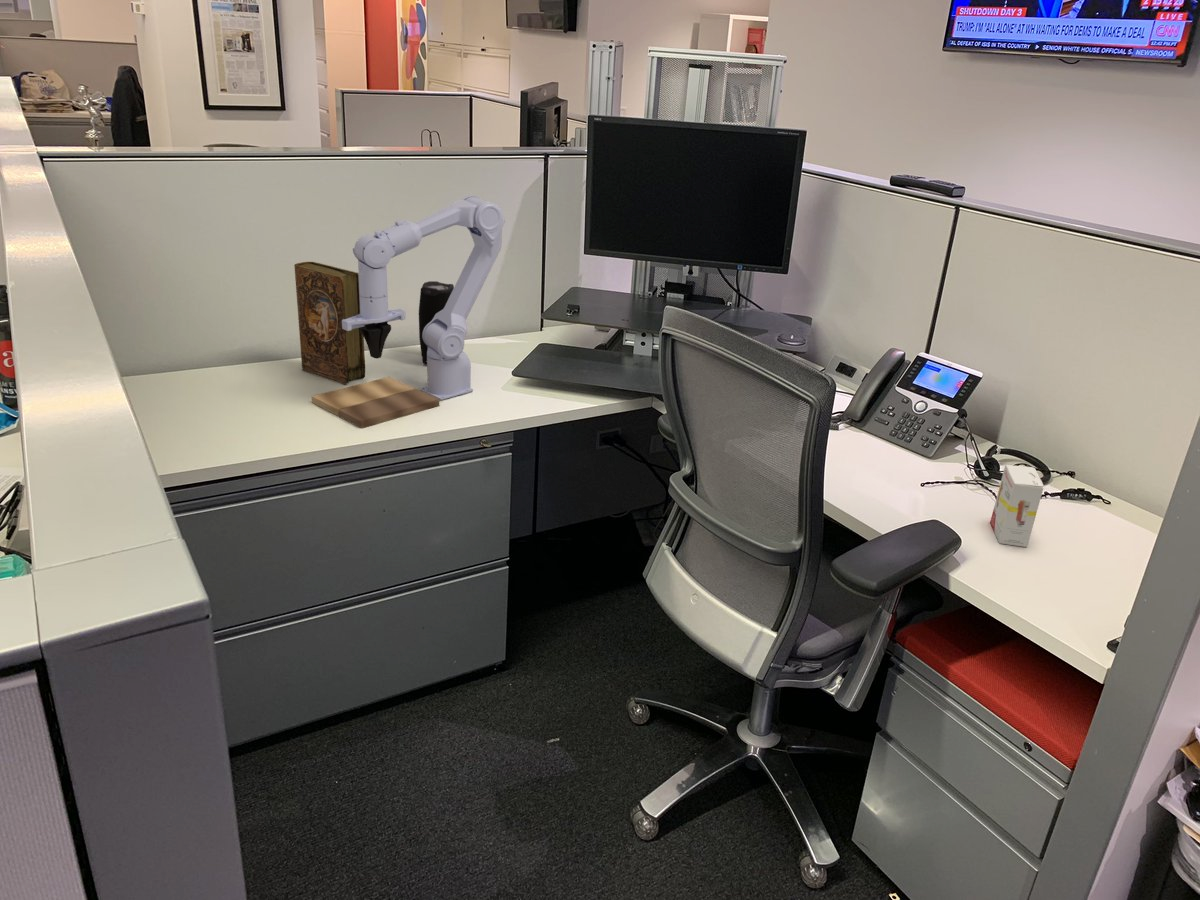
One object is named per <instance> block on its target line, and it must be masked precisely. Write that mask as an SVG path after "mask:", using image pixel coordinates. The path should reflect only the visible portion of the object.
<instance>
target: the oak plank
mask: <svg viewBox="0 0 1200 900" xmlns="http://www.w3.org/2000/svg"><path fill="white" fill-rule="evenodd" d="M415 389H417V388H416V387H413V386H411V385H409V384H406V383H404V382H401V381H400V380H397V379H395V378H393V377H391V376H386V377H382V378H379V379H378V378H377V379H375V380H370V381H366V382H363V383H359V384H355V385H350V386H347V387H342V388H339V389H334V390H330V391H328V392H327V391H326V392H322V393H319V394H315V395H314V394H313V395H311V402H312V403H313V404H314V405H317V406H318V407H320V408H322V409H324V410H326V411H328V412H330V413H332V414H333V415H335V416H338V417H339V410H340V409H344V408H347V407H351V406H355V405H359V404H362V403H366V402H370V401H374V400H377V399H381V398H385V397H389V396H392V395H396V394H400V393H403V392H407V391H411V390H415Z"/></svg>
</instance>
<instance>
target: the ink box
mask: <svg viewBox="0 0 1200 900" xmlns="http://www.w3.org/2000/svg"><path fill="white" fill-rule="evenodd" d="M997 491H998V492H997V495H996V498H995V503H994V506H993V511H992V514H991V518H990V520H989V522H990V525H991V527H992V530H993V532H994V534H995V537H996V539H997V542H998V543H999V544H1001V545H1002V544H1003V545H1008V546H1009V545H1010V546H1017V547H1024V548H1028V546H1029V541H1030V539H1031V536H1032V535H1031V534H1032V532H1033V528H1034V524H1035V522H1036V521H1035V520H1036V515H1037V513H1038V509H1039V505H1040V502H1041V498H1042V496H1043V495H1042V494H1043V492H1044V483H1043V481H1042V479H1041V477H1040V476H1039V474H1038V471H1037V470H1036V468H1035V467H1031V466H1022V465H1021V466H1020V465H1011V464H1005V465H1004V469H1003V473H1002V476H1001V480H1000V485H999V489H998V490H997Z"/></svg>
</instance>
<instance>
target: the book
mask: <svg viewBox="0 0 1200 900" xmlns="http://www.w3.org/2000/svg"><path fill="white" fill-rule="evenodd" d="M293 266H294V275H295V276H294V277H295V280H294V281H295V290H296V304H297V316H298V317H297V318H298V319H297V320H298V332H299V343H300V355H301V356H300V358H301V371H302V372H305V373H309V374H311V375H314V376H317V377H320V378H324V379H326V380H328V381H333V382H335V383H340V384H342V385H347V384H349V382H351V381H356V380H362V379H365V377H366V358H365V357H366V356H365V338H364V336H363V335H362V333H361V331H360V330H359V328H355V329H352V330H350V331H347V330H344V329H342V320H344V319H348V318H350V317H353V316H356V315H358V314H360V298H359V276H358V272H355V271H353V270H348V269H344V268H340V267H335V266H333V265H328V264H324V263H320V262H316V261H302V262H298V263H295V264H294V265H293Z"/></svg>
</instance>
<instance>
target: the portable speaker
mask: <svg viewBox="0 0 1200 900" xmlns="http://www.w3.org/2000/svg"><path fill="white" fill-rule="evenodd" d="M454 287H455V284H453V283H444V282H439V281H437V280H436V281H432V280H431V281H426V282H424V283H423V284H422V286H421V288H420V294H419V303H418V304H419V305H418V306H419V307H418V331H419V333H418V336H419V345H420V346H419V347H420V354H421V359H422V360H421V361H422V364H427V350H428V346H427V345H426V344H425V343H424V341H423V338H422V333H423V330H424V328H425V326H426V325H427V324H428V323H430V322H431V321H432V319H433V318H434V316H435V314H436V313H438V312H439V311H441V310H443V309H444V307H445V305H446V303H447V301H448V299H449V297H450V295H451V293H452V291H453V289H454Z"/></svg>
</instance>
